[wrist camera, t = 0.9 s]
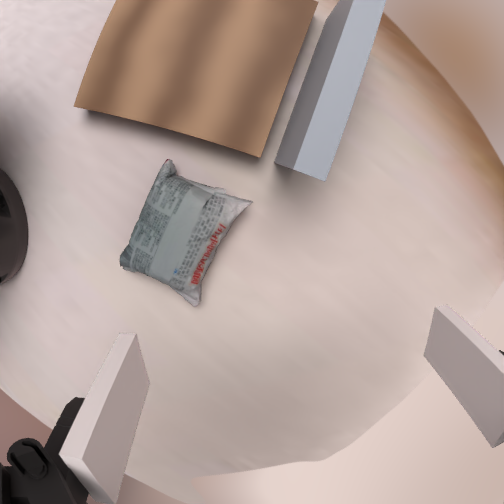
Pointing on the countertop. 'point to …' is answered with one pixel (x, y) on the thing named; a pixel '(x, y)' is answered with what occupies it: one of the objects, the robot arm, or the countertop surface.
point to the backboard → (330, 88)
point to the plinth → (198, 65)
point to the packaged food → (180, 231)
